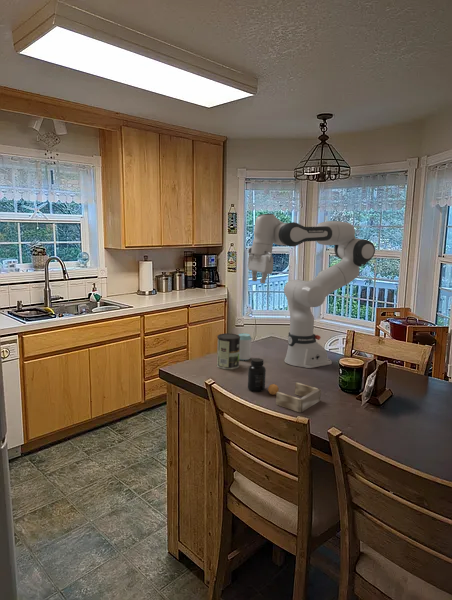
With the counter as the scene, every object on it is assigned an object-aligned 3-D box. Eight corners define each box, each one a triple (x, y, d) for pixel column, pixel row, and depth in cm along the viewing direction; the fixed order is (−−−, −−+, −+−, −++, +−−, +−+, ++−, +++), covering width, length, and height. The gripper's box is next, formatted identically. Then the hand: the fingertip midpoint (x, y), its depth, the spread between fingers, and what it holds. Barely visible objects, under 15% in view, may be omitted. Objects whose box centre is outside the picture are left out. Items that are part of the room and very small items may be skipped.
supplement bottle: (266, 387, 172) (268, 358, 170) (262, 393, 165) (263, 363, 163) (250, 384, 174) (251, 356, 172) (245, 390, 168) (246, 361, 165)
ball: (275, 391, 167) (275, 382, 166) (280, 395, 163) (280, 385, 163) (266, 393, 166) (266, 383, 165) (270, 396, 162) (271, 386, 161)
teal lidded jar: (252, 360, 205) (253, 336, 203) (238, 361, 203) (239, 336, 201) (248, 356, 212) (249, 332, 210) (234, 356, 210) (235, 333, 208)
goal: (275, 404, 155) (276, 392, 155) (296, 393, 166) (297, 382, 166) (300, 412, 149) (301, 400, 148) (320, 400, 160) (321, 389, 159)
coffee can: (239, 362, 202) (240, 333, 199) (239, 370, 191) (240, 339, 189) (217, 361, 202) (217, 332, 199) (216, 369, 192) (217, 338, 189)
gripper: (278, 252, 179) (274, 285, 181) (259, 250, 198) (256, 280, 200) (264, 250, 177) (260, 284, 179) (247, 249, 196) (243, 279, 198)
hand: (258, 282), depth 190 cm, fingers open, 8 cm apart
